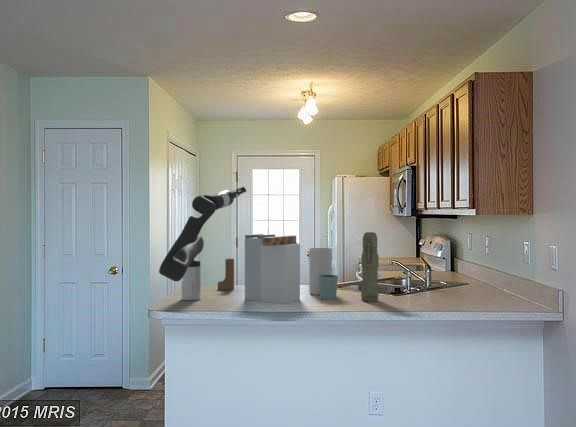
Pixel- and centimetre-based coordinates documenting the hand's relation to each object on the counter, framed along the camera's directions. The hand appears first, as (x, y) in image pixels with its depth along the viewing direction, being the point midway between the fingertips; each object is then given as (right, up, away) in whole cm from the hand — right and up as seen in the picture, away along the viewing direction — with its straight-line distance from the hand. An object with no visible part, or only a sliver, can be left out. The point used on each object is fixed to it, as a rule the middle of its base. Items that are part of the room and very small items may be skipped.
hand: (238, 193), depth 281 cm
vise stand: (+16, -55, +13) cm, 58 cm away
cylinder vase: (+43, -55, +34) cm, 77 cm away
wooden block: (-12, -54, +49) cm, 75 cm away
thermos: (+67, -55, +11) cm, 87 cm away
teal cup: (+46, -55, +18) cm, 74 cm away
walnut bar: (+20, -26, +8) cm, 34 cm away
